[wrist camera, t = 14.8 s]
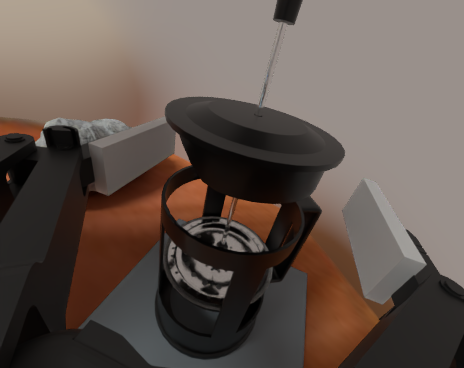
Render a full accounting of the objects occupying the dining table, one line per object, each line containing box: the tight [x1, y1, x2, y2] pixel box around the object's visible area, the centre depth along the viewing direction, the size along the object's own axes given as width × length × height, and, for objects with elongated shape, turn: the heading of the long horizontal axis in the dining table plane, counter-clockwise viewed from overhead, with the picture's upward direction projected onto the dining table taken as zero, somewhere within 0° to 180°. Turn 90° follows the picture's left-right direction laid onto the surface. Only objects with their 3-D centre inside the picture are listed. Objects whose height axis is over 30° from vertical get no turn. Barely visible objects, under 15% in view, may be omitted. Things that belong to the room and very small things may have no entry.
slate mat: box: [78, 219, 307, 368], centre depth 20 cm, size 15×17×1 cm
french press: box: [155, 0, 345, 360], centre depth 14 cm, size 12×9×23 cm
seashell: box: [35, 118, 132, 191], centre depth 30 cm, size 16×15×10 cm
